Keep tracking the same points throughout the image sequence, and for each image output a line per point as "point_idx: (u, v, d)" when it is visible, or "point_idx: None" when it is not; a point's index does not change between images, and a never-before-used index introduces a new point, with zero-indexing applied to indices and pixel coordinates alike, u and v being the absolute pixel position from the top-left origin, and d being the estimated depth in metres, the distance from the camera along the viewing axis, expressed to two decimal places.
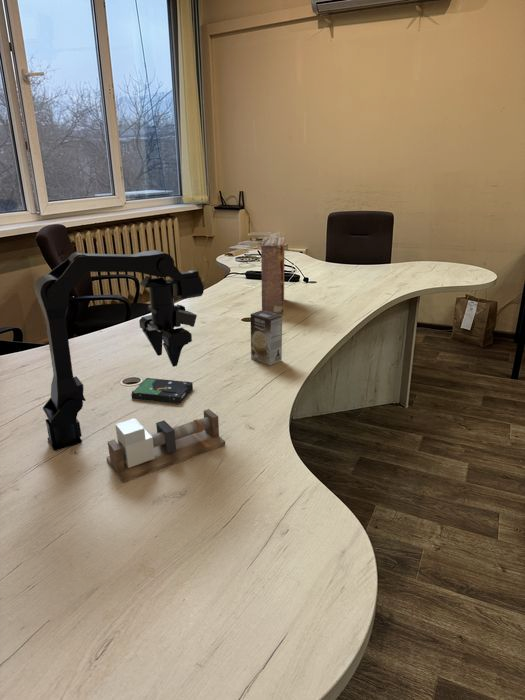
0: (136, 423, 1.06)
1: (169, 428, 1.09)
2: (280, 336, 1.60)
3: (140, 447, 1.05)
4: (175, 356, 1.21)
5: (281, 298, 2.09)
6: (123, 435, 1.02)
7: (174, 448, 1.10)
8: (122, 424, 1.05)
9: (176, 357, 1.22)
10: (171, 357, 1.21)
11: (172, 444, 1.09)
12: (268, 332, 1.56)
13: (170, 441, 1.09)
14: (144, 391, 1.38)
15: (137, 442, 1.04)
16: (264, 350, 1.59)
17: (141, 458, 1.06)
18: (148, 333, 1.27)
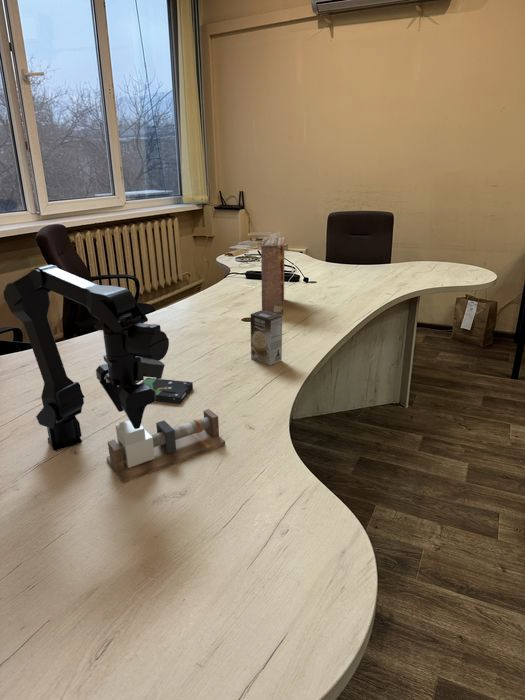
0: None
1: (169, 428, 1.09)
2: (280, 336, 1.60)
3: (140, 447, 1.05)
4: (137, 417, 0.99)
5: (281, 298, 2.09)
6: (123, 435, 1.02)
7: (174, 448, 1.10)
8: (122, 424, 1.05)
9: (138, 418, 0.99)
10: (131, 419, 0.98)
11: (172, 444, 1.09)
12: (268, 332, 1.56)
13: (170, 441, 1.09)
14: None
15: (137, 442, 1.04)
16: (264, 350, 1.59)
17: (141, 458, 1.06)
18: (106, 386, 1.05)
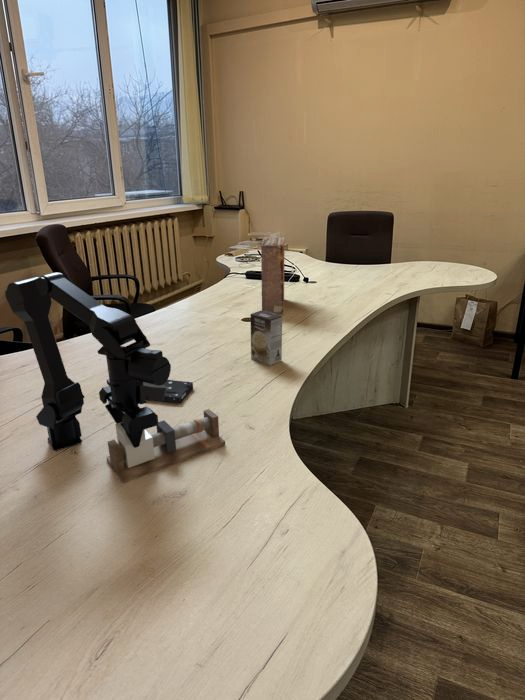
0: None
1: (169, 428, 1.09)
2: (280, 336, 1.60)
3: (140, 447, 1.05)
4: (136, 436, 1.02)
5: (281, 298, 2.09)
6: (123, 435, 1.02)
7: (174, 448, 1.10)
8: None
9: (137, 437, 1.02)
10: (131, 438, 1.01)
11: (172, 444, 1.09)
12: (268, 332, 1.56)
13: (170, 441, 1.09)
14: None
15: None
16: (264, 350, 1.59)
17: (141, 458, 1.06)
18: (112, 411, 1.05)
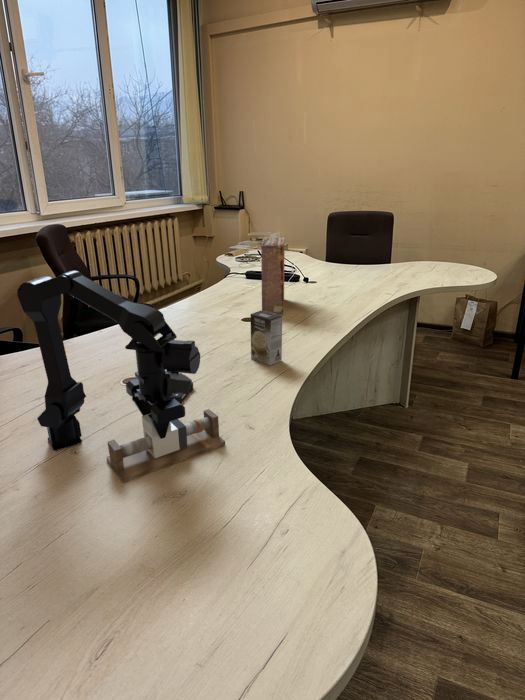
0: None
1: (181, 424, 1.11)
2: (280, 336, 1.60)
3: (166, 438, 1.08)
4: (163, 428, 1.05)
5: (281, 298, 2.09)
6: (150, 426, 1.05)
7: (185, 444, 1.12)
8: None
9: (164, 429, 1.06)
10: (158, 429, 1.05)
11: (183, 440, 1.11)
12: (268, 332, 1.56)
13: (182, 437, 1.10)
14: None
15: None
16: (264, 350, 1.59)
17: (167, 449, 1.09)
18: (139, 403, 1.08)
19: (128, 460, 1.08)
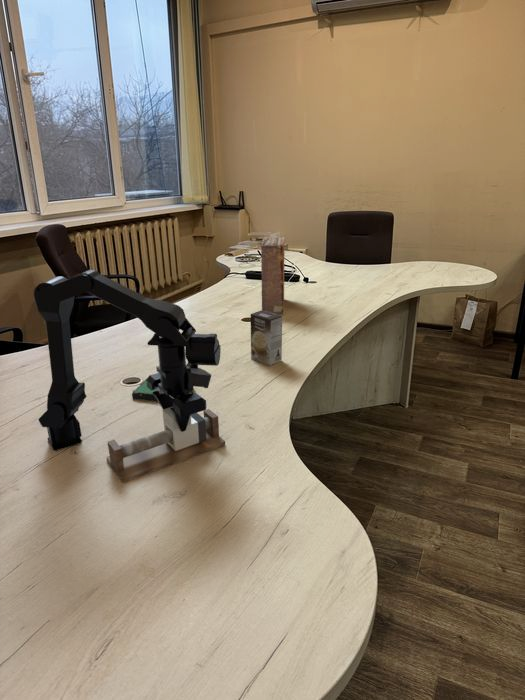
0: None
1: (200, 418, 1.13)
2: (280, 336, 1.60)
3: (186, 431, 1.11)
4: (184, 421, 1.08)
5: (281, 298, 2.09)
6: (171, 420, 1.08)
7: (204, 437, 1.14)
8: (169, 410, 1.11)
9: (185, 422, 1.08)
10: (179, 422, 1.07)
11: (203, 434, 1.14)
12: (268, 332, 1.56)
13: (201, 430, 1.13)
14: (145, 391, 1.38)
15: None
16: (264, 350, 1.59)
17: (187, 442, 1.12)
18: (159, 397, 1.11)
19: (128, 460, 1.08)
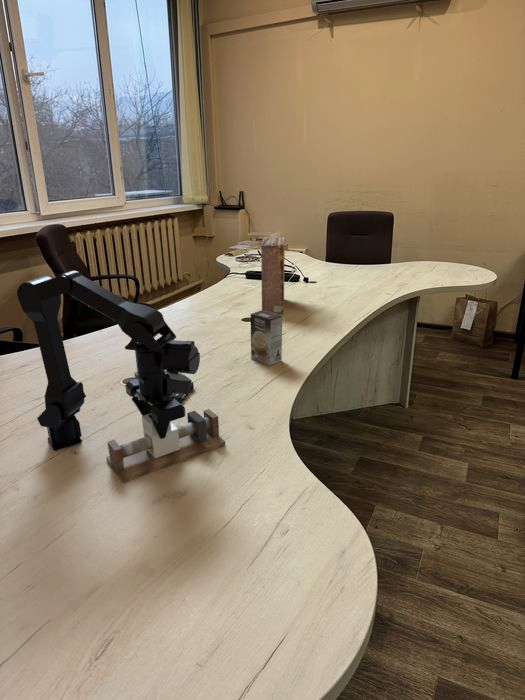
0: None
1: (201, 417, 1.14)
2: (280, 336, 1.60)
3: (166, 438, 1.08)
4: (163, 428, 1.05)
5: (281, 298, 2.09)
6: (150, 426, 1.05)
7: (205, 437, 1.14)
8: None
9: (164, 429, 1.06)
10: (158, 430, 1.05)
11: (203, 433, 1.14)
12: (268, 332, 1.56)
13: (201, 430, 1.13)
14: None
15: None
16: (264, 350, 1.59)
17: (167, 449, 1.09)
18: (138, 404, 1.08)
19: (128, 460, 1.08)
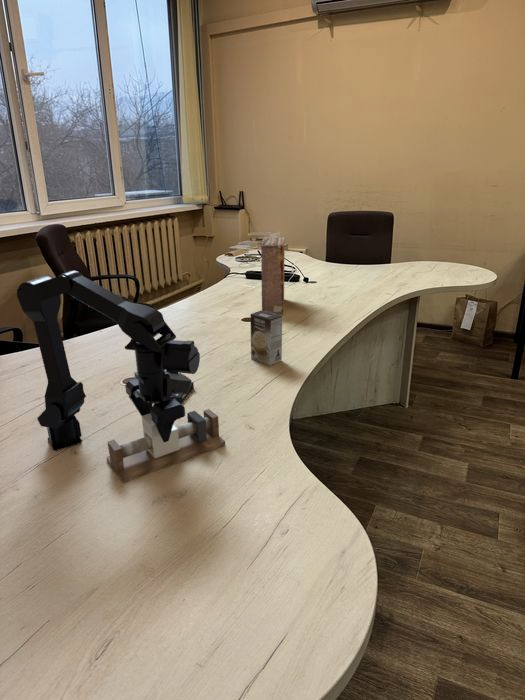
0: None
1: (201, 417, 1.14)
2: (280, 336, 1.60)
3: None
4: (166, 431, 1.04)
5: (281, 298, 2.09)
6: (150, 426, 1.05)
7: (205, 437, 1.14)
8: (149, 416, 1.09)
9: (167, 432, 1.04)
10: (161, 433, 1.03)
11: (203, 433, 1.14)
12: (268, 332, 1.56)
13: (201, 430, 1.13)
14: None
15: None
16: (264, 350, 1.59)
17: (167, 449, 1.09)
18: (135, 401, 1.10)
19: (128, 460, 1.08)
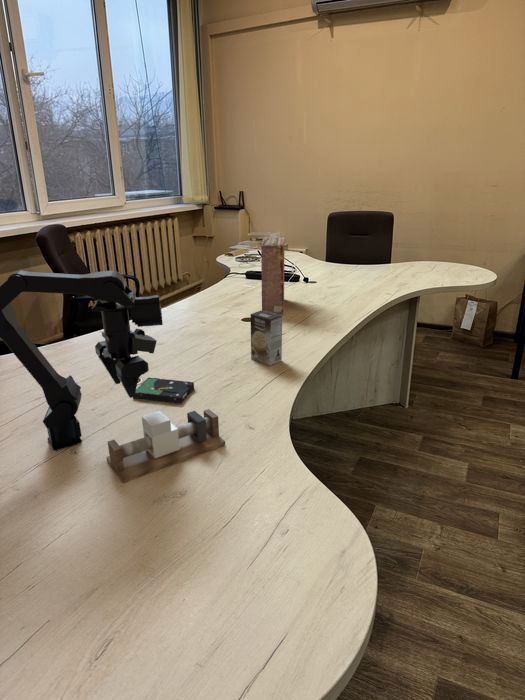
0: (162, 415, 1.09)
1: (201, 417, 1.14)
2: (280, 336, 1.60)
3: (166, 438, 1.08)
4: (131, 387, 1.11)
5: (281, 298, 2.09)
6: (150, 426, 1.05)
7: (205, 437, 1.14)
8: (149, 416, 1.09)
9: (133, 388, 1.11)
10: (127, 388, 1.10)
11: (203, 433, 1.14)
12: (268, 332, 1.56)
13: (201, 430, 1.13)
14: (145, 391, 1.38)
15: (163, 433, 1.07)
16: (264, 350, 1.59)
17: (167, 449, 1.09)
18: (104, 360, 1.16)
19: (128, 460, 1.08)
